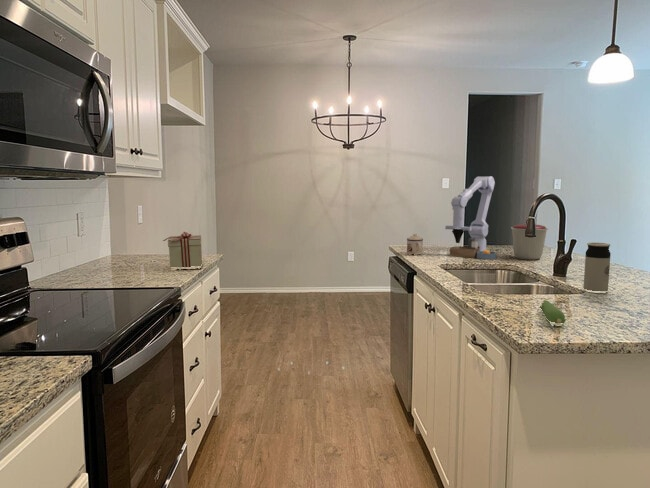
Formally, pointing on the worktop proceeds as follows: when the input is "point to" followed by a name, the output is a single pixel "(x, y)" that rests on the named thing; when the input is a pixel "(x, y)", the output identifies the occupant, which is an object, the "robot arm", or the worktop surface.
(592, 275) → the travel mug
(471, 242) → the plunger
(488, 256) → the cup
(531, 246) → the white bucket
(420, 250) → the teacup with lid
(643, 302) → the worktop surface
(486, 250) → the ball
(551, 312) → the green elongated piece
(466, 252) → the brown rectangular box
